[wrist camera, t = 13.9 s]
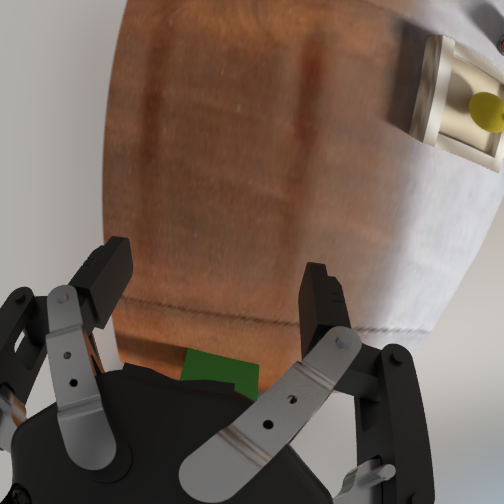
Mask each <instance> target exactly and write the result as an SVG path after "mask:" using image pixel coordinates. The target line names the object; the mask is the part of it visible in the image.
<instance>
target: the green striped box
mask: <svg viewBox="0 0 504 504" xmlns="http://www.w3.org/2000/svg"><path fill="white" fill-rule="evenodd" d="M258 377H259V365H258V364H253V363H249V362H244V361H239V360H235V359H231V358H226V357H222V356H218V355H214V354H210V353H206V352H202V351H198V350H194V349H191V348H188V350H187V354H186V357H185V361H184V365H183V369H182V373H181V377H180V381H182V380H203V379H208V380H215V381H222V382H229V383H235V390H234V391H236V392H239V393H241V394H243V395H245V396H247V397H249V398H250V399H252V400H253V401H254V402H256V401H257V393H258Z"/></svg>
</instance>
